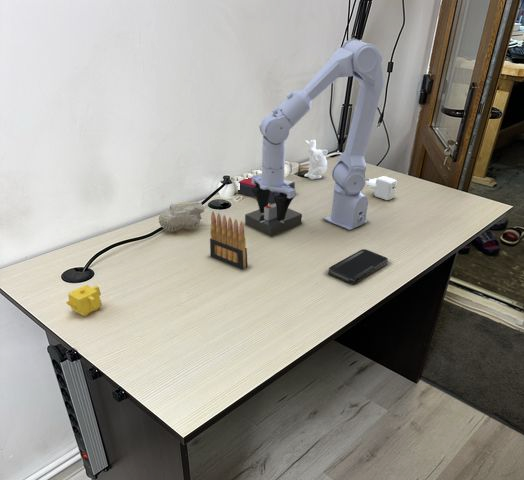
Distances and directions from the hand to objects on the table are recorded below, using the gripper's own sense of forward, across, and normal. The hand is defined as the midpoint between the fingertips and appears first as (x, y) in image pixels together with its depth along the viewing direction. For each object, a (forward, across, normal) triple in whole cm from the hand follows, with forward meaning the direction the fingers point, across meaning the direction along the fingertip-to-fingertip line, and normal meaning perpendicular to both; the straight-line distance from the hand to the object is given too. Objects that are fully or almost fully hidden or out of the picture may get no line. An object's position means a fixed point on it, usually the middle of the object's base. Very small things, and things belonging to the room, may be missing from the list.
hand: (272, 215), depth 136 cm
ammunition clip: (+4, +7, -21) cm, 23 cm away
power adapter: (+4, +5, +42) cm, 42 cm away
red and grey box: (+4, -20, +16) cm, 26 cm away
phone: (+4, +30, 0) cm, 31 cm away
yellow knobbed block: (+4, +3, -58) cm, 58 cm away
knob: (+1, 0, 0) cm, 1 cm away
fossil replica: (+4, -16, -19) cm, 25 cm away
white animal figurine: (+4, -19, +38) cm, 43 cm away
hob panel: (+3, -2, +2) cm, 4 cm away
